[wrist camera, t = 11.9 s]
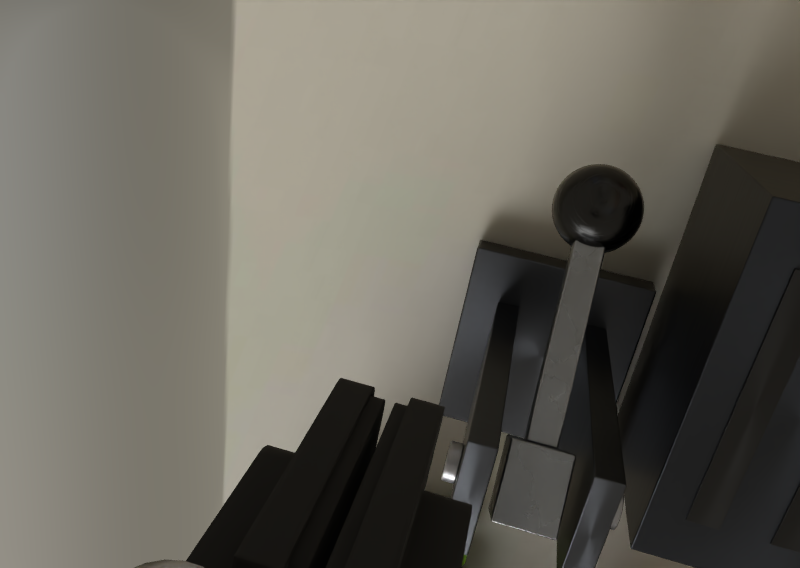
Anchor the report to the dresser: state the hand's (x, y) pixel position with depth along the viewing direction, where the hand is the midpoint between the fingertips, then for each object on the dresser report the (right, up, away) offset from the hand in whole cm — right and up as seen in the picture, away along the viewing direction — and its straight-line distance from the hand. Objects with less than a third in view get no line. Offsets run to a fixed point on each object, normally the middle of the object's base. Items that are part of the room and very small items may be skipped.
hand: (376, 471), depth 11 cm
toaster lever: (+6, +1, +16) cm, 17 cm away
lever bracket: (+7, 0, +24) cm, 25 cm away
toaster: (+16, +2, +21) cm, 26 cm away
